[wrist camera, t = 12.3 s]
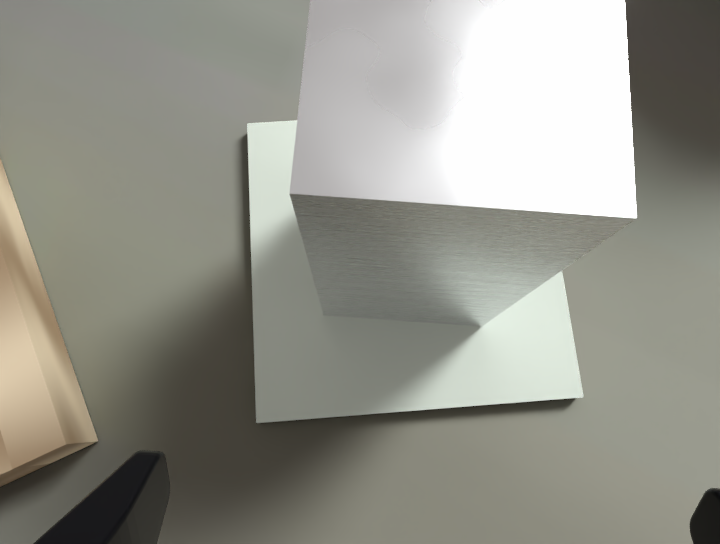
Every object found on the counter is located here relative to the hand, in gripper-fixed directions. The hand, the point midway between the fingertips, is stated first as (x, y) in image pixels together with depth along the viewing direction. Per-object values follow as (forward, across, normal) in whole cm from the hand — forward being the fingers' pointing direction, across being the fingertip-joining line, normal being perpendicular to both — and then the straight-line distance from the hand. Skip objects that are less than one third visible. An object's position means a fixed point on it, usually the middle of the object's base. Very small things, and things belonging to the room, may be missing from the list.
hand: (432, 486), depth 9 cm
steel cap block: (+10, 0, +1) cm, 10 cm away
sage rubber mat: (+10, 0, +1) cm, 10 cm away
